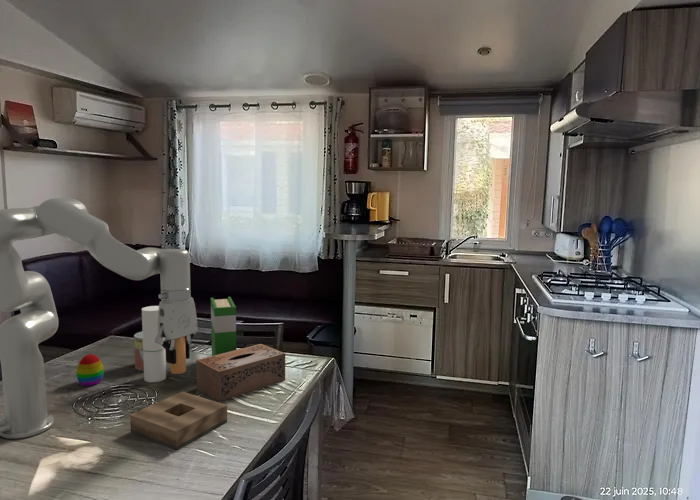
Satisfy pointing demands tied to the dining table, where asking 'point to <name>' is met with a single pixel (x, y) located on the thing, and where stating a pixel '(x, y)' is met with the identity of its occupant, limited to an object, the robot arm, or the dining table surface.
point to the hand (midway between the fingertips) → (178, 359)
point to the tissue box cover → (240, 371)
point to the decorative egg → (90, 370)
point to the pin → (179, 356)
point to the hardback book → (223, 326)
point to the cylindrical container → (152, 347)
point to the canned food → (139, 351)
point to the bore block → (178, 419)
